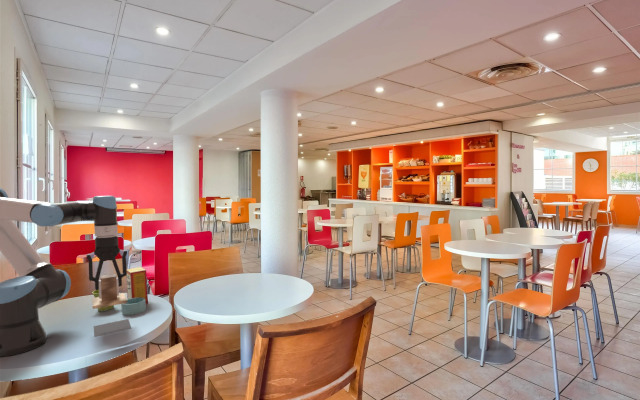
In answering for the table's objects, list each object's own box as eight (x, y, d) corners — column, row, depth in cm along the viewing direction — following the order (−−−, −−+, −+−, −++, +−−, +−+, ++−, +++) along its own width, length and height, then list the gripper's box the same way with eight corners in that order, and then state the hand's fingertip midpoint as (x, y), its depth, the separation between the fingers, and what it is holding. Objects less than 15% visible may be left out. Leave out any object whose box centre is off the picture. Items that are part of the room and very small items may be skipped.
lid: (92, 308, 129) (91, 281, 128) (92, 300, 138) (91, 275, 137) (127, 302, 135) (125, 276, 134) (124, 295, 144) (123, 271, 143)
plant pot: (109, 312, 155) (108, 293, 154) (88, 313, 155) (87, 293, 155) (122, 305, 164) (121, 286, 164) (102, 305, 164) (100, 287, 164)
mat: (94, 338, 129) (94, 336, 129) (93, 327, 139) (93, 326, 139) (131, 329, 135) (131, 328, 135) (128, 320, 145) (128, 318, 145)
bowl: (123, 317, 148) (122, 306, 148) (121, 311, 156) (120, 300, 155) (147, 312, 153) (146, 301, 153) (144, 307, 161) (143, 296, 160)
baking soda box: (127, 301, 169) (125, 268, 168) (142, 298, 173) (140, 266, 173) (132, 306, 162) (130, 272, 161) (148, 303, 166) (146, 269, 165)
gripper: (77, 239, 127) (80, 303, 128) (134, 235, 137) (136, 294, 138) (78, 237, 133) (80, 298, 134) (132, 232, 143) (134, 289, 144)
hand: (109, 296), depth 136 cm, fingers closed on lid, 5 cm apart
